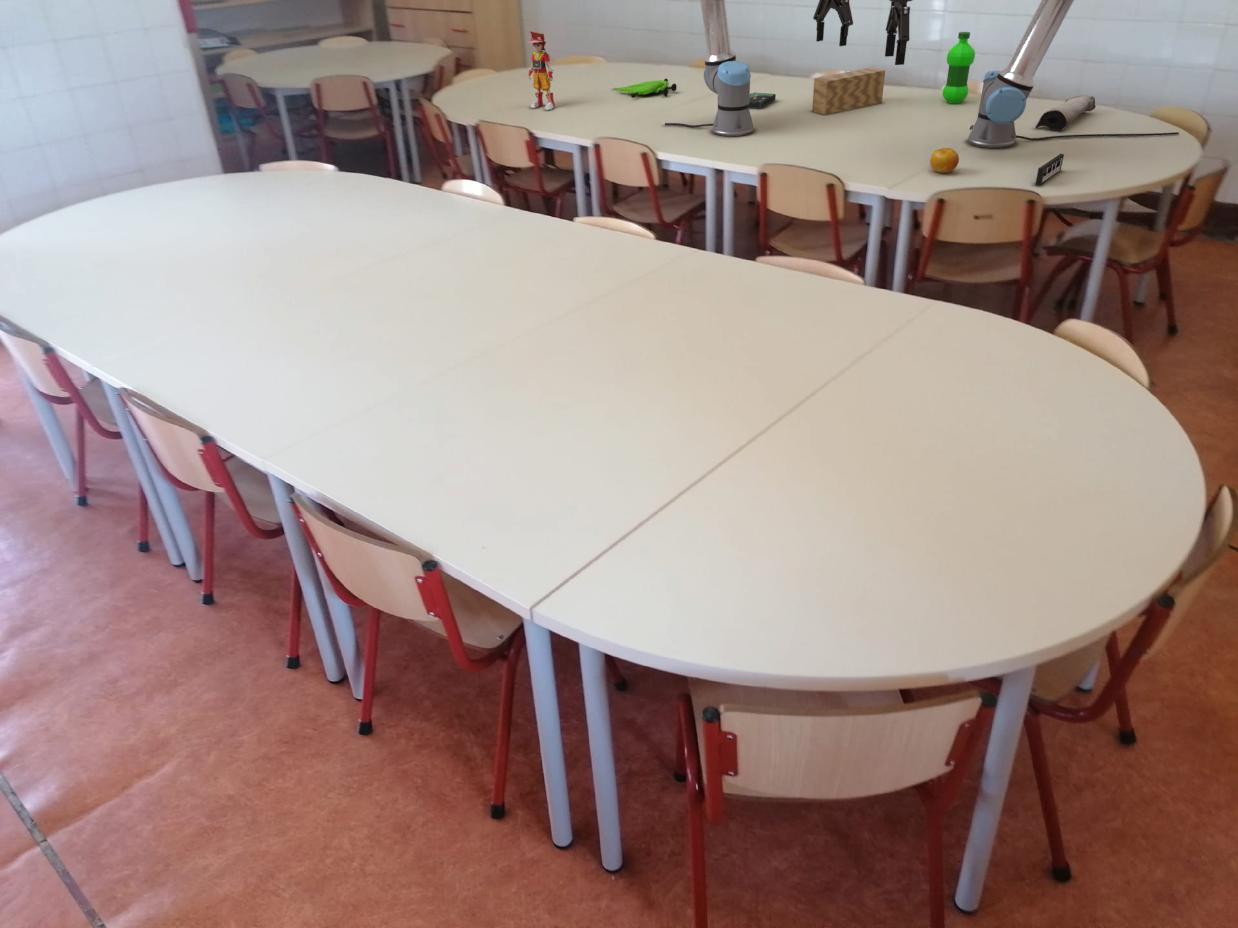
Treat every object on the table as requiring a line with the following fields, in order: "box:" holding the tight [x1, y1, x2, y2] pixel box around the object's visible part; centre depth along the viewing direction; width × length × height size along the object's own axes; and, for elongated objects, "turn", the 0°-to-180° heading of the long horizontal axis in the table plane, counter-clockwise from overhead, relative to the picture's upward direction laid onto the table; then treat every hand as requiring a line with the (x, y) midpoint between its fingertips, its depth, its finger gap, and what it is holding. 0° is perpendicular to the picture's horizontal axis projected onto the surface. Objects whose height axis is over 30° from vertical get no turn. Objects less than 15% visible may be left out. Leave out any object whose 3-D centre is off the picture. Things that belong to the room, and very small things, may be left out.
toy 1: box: [527, 31, 556, 111], centre depth 374 cm, size 12×9×30 cm
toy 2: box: [612, 78, 677, 99], centre depth 396 cm, size 28×5×30 cm
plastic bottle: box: [942, 31, 976, 104], centre depth 348 cm, size 10×10×25 cm
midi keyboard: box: [1035, 153, 1065, 186], centre depth 273 cm, size 18×1×5 cm, turn 138°
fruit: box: [929, 147, 960, 174], centre depth 283 cm, size 8×8×8 cm
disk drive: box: [749, 92, 777, 109], centre depth 368 cm, size 10×3×15 cm
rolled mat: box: [1035, 94, 1097, 132], centre depth 323 cm, size 30×9×10 cm
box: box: [811, 66, 886, 116], centre depth 354 cm, size 29×8×12 cm, turn 118°
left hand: (831, 43), depth 340 cm, fingers open, 13 cm apart
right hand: (894, 60), depth 289 cm, fingers open, 13 cm apart
